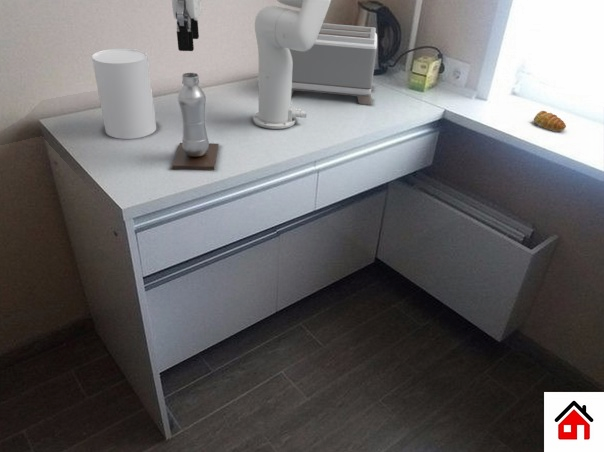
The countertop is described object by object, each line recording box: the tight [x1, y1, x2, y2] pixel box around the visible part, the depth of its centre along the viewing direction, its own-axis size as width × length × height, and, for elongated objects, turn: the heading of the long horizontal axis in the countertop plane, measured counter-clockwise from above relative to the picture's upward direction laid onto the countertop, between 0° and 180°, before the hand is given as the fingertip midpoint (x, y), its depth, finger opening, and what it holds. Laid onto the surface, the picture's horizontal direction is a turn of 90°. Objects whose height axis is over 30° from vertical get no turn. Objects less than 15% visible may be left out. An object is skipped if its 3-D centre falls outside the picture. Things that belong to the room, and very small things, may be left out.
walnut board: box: [171, 142, 220, 171], centre depth 125 cm, size 10×13×1 cm
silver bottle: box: [177, 72, 210, 157], centre depth 119 cm, size 6×7×20 cm
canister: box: [91, 47, 157, 140], centre depth 132 cm, size 14×14×20 cm
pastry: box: [533, 110, 567, 132], centre depth 154 cm, size 9×7×4 cm
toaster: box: [289, 22, 378, 106], centre depth 166 cm, size 19×34×20 cm, turn 82°
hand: (189, 44), depth 110 cm, fingers open, 9 cm apart
